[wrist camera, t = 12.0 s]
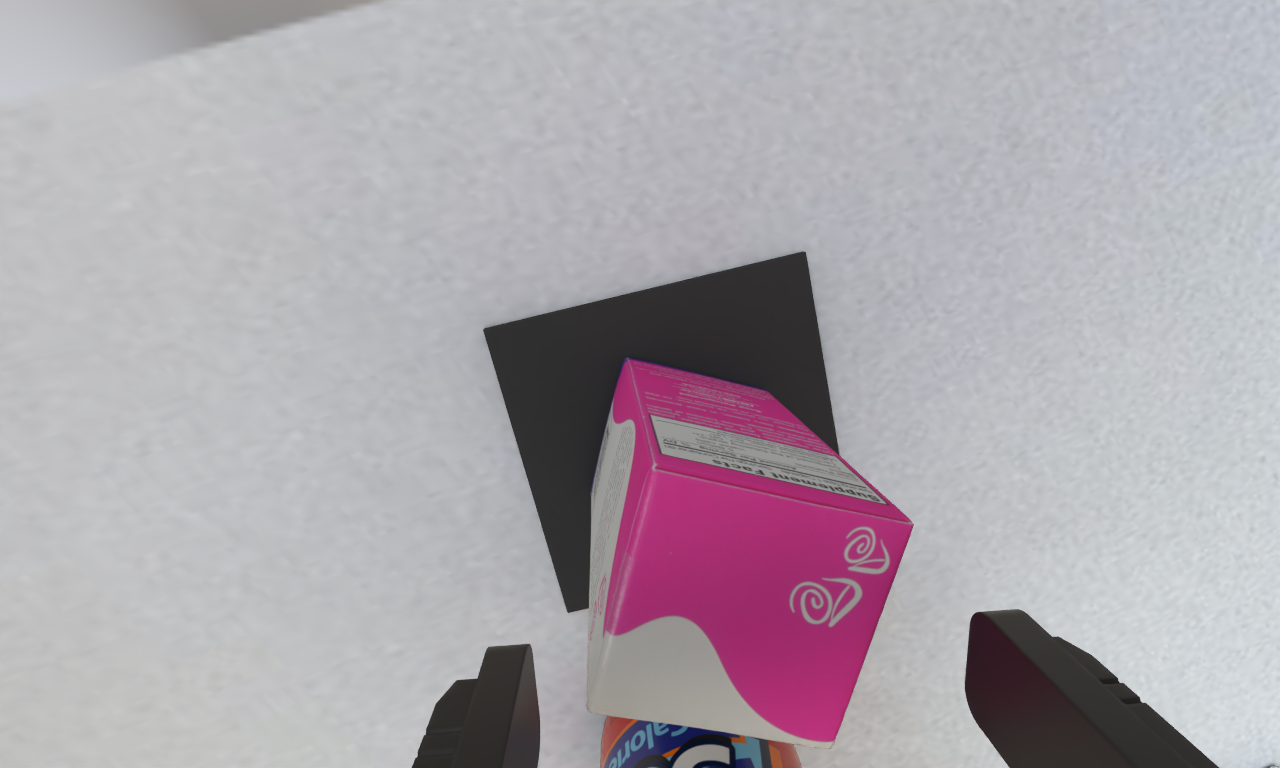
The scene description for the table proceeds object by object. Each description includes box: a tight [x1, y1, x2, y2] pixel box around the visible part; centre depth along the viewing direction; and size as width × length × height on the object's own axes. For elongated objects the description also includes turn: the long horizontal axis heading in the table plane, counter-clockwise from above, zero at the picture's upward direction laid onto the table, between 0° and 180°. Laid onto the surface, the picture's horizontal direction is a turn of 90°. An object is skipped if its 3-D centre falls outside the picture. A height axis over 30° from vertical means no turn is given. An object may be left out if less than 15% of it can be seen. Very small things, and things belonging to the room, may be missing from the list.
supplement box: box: [586, 358, 913, 749], centre depth 18 cm, size 6×6×12 cm
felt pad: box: [483, 252, 839, 613], centre depth 24 cm, size 12×12×1 cm
